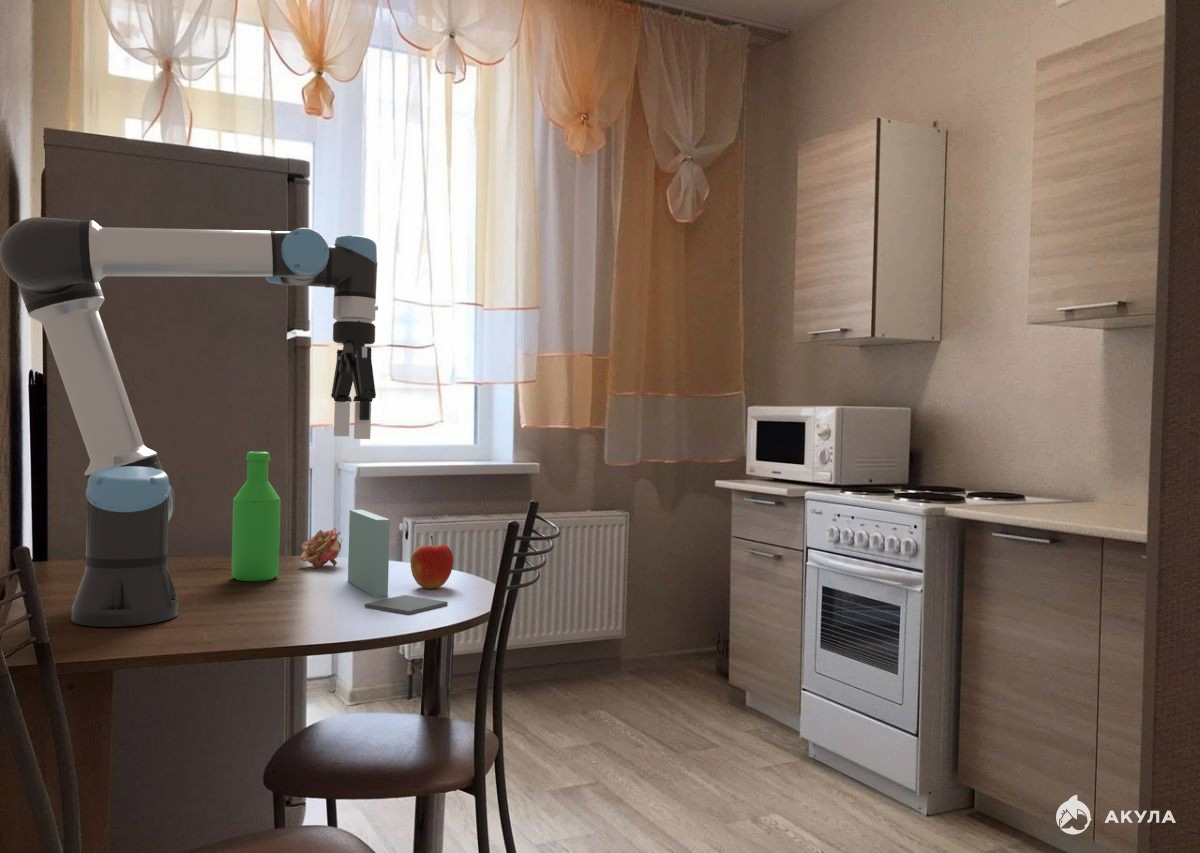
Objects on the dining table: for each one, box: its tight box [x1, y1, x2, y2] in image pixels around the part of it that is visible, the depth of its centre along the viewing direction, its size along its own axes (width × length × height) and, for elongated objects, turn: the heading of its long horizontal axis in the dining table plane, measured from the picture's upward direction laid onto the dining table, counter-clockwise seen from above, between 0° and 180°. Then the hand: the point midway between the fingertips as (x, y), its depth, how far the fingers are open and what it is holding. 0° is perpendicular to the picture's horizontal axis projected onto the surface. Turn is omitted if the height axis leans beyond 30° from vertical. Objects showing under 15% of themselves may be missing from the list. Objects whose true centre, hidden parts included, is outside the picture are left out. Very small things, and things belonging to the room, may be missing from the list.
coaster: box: [364, 594, 448, 615], centre depth 168 cm, size 10×10×1 cm
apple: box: [410, 535, 454, 590], centre depth 186 cm, size 8×8×10 cm
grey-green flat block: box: [347, 509, 391, 598], centre depth 184 cm, size 18×3×14 cm, turn 30°
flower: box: [299, 527, 344, 569], centre depth 207 cm, size 10×9×8 cm
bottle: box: [231, 450, 282, 582], centre depth 191 cm, size 9×9×25 cm
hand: (351, 437), depth 178 cm, fingers open, 13 cm apart
